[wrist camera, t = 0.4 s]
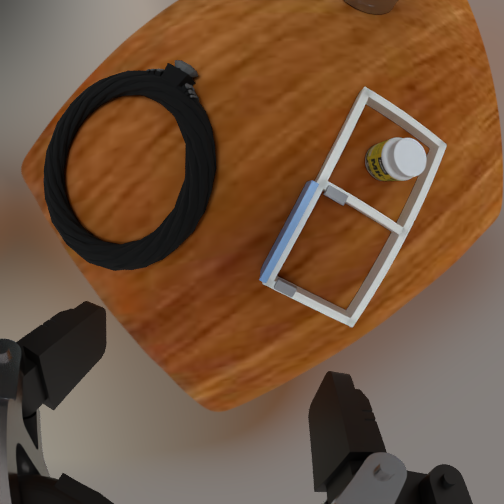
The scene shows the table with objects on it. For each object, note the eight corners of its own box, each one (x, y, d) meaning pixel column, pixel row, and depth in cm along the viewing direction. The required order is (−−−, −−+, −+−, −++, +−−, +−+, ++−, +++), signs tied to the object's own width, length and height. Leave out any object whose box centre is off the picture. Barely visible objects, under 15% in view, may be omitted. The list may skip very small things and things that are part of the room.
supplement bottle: (356, 162, 32) (381, 155, 24) (378, 136, 31) (406, 124, 23) (383, 189, 32) (413, 190, 24) (404, 163, 31) (437, 158, 23)
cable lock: (19, 198, 33) (116, 28, 26) (34, 196, 37) (128, 38, 30) (134, 314, 35) (277, 119, 28) (146, 304, 39) (277, 126, 32)
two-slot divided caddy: (353, 89, 30) (364, 75, 25) (437, 146, 30) (457, 142, 25) (257, 274, 36) (255, 287, 31) (348, 319, 36) (357, 336, 31)
